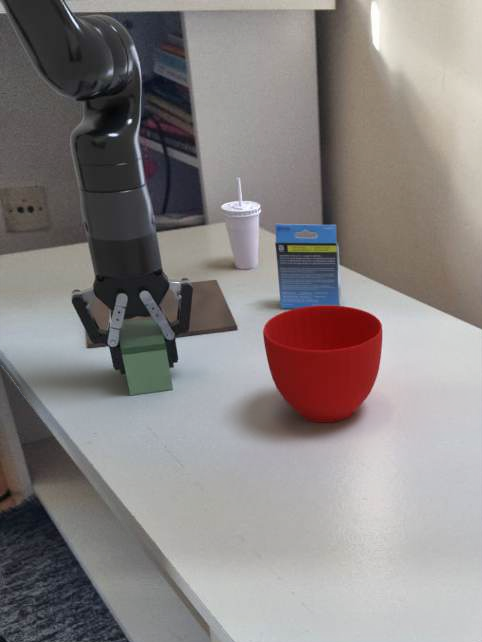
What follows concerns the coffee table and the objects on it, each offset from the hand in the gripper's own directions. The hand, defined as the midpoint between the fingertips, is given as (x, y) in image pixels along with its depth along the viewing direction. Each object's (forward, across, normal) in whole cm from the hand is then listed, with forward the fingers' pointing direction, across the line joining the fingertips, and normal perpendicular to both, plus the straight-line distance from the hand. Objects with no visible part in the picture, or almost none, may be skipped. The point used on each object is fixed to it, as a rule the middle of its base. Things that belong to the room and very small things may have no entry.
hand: (146, 368), depth 99 cm
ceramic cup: (+2, -20, +13) cm, 24 cm away
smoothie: (+2, -19, -39) cm, 43 cm away
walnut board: (+1, -3, -22) cm, 22 cm away
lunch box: (+1, 0, 0) cm, 1 cm away
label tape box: (+2, -25, -18) cm, 31 cm away
